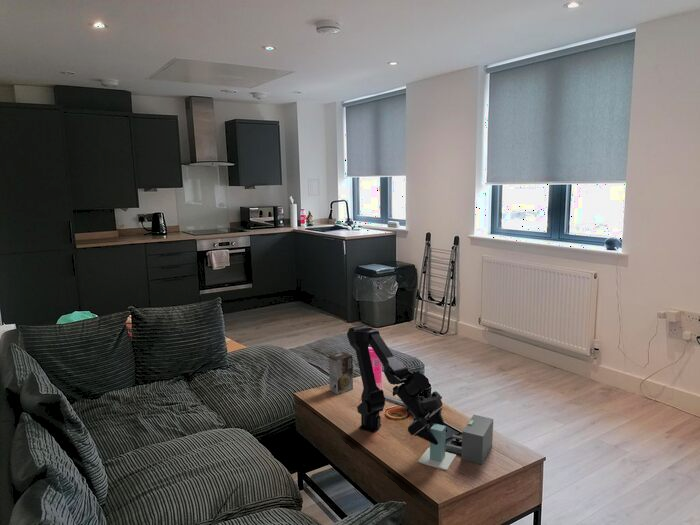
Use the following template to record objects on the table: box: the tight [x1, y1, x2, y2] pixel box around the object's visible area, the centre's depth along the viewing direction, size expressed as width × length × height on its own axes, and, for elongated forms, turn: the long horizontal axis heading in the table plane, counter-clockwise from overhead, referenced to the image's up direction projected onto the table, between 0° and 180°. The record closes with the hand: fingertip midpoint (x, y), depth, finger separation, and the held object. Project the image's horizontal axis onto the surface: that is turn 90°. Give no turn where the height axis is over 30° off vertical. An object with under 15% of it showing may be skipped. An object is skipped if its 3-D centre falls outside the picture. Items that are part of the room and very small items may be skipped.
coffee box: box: [328, 351, 354, 395], centre depth 223 cm, size 9×6×16 cm
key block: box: [429, 424, 447, 462], centre depth 166 cm, size 4×4×11 cm
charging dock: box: [445, 414, 494, 466], centre depth 172 cm, size 14×14×10 cm
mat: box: [417, 446, 457, 471], centre depth 167 cm, size 10×10×1 cm
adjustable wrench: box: [384, 393, 405, 406], centre depth 212 cm, size 25×6×2 cm, turn 47°
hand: (441, 438), depth 165 cm, fingers open, 9 cm apart
